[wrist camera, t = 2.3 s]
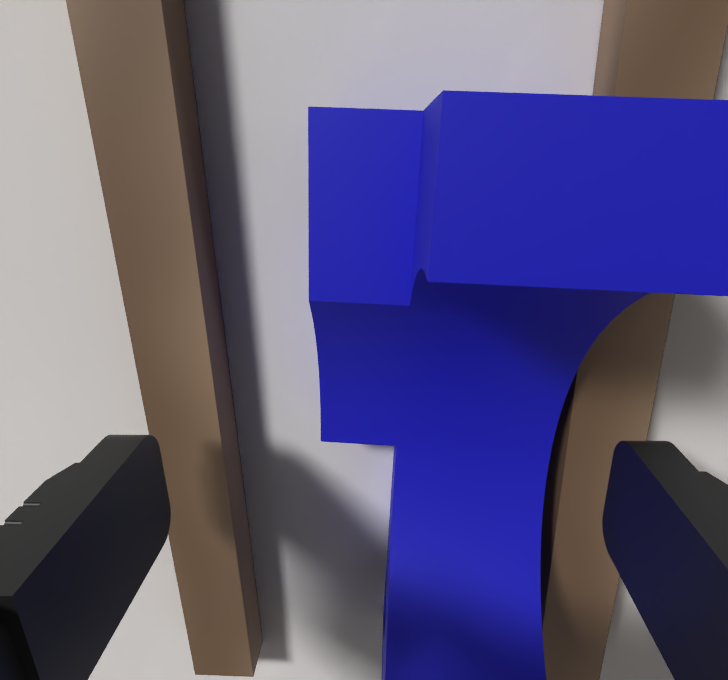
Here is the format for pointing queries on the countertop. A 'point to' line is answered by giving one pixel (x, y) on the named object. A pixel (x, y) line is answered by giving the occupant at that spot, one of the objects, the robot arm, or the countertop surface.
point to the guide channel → (207, 338)
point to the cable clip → (490, 324)
